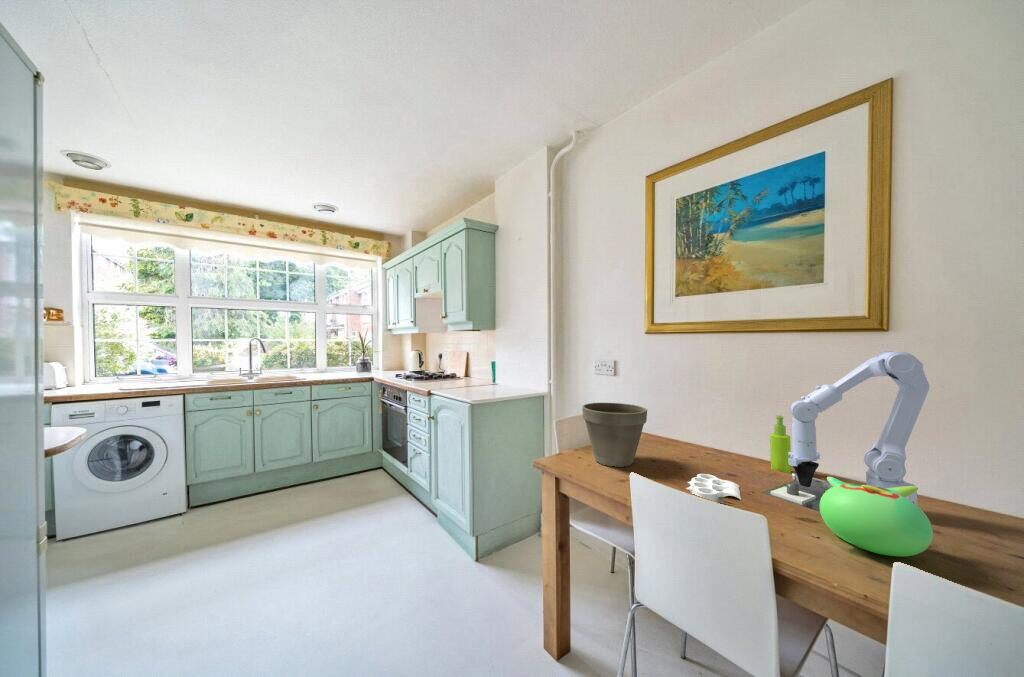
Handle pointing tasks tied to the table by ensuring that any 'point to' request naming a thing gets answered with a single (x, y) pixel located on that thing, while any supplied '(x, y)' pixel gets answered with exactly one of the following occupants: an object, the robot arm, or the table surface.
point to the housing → (810, 490)
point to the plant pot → (614, 431)
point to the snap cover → (793, 494)
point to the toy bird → (876, 518)
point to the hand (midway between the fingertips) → (805, 485)
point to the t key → (815, 482)
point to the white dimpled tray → (713, 488)
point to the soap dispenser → (780, 447)
